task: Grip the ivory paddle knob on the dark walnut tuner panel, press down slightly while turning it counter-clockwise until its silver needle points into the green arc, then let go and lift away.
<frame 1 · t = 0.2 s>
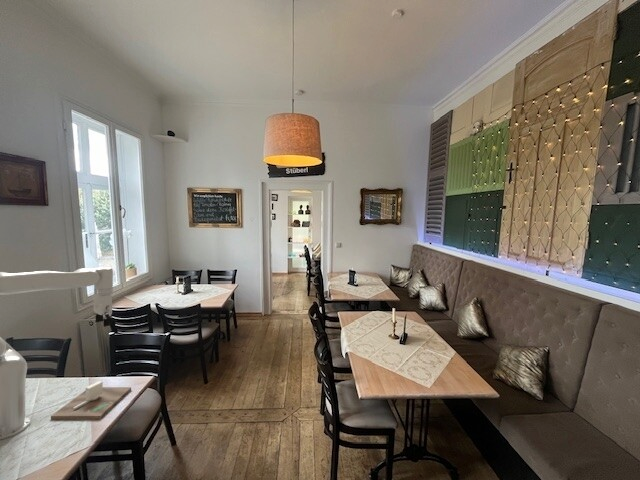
hand: (103, 323, 140), 36 cm above the table, tool pointing down, fingers open, 9 cm apart
peg knob: (87, 394, 130), point 5 cm above the table, hinge at 0.0°
tuner panel: (94, 402, 132), on the table
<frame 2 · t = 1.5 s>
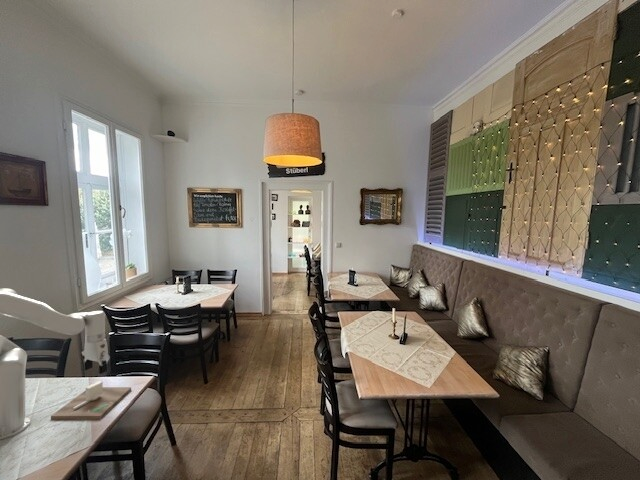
hand: (95, 370, 132), 16 cm above the table, tool pointing down, fingers open, 9 cm apart
nothing on the table moved.
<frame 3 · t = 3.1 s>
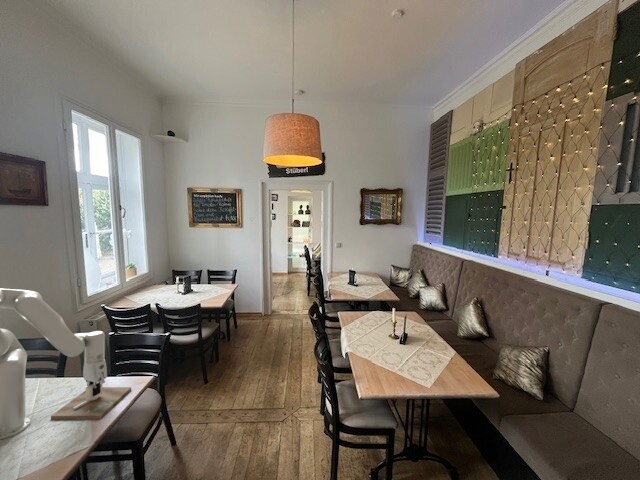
hand: (94, 393, 132), 4 cm above the table, tool pointing down, fingers closed on peg knob, 2 cm apart
peg knob: (87, 394, 130), point 5 cm above the table, hinge at 0.0°, touching gripper
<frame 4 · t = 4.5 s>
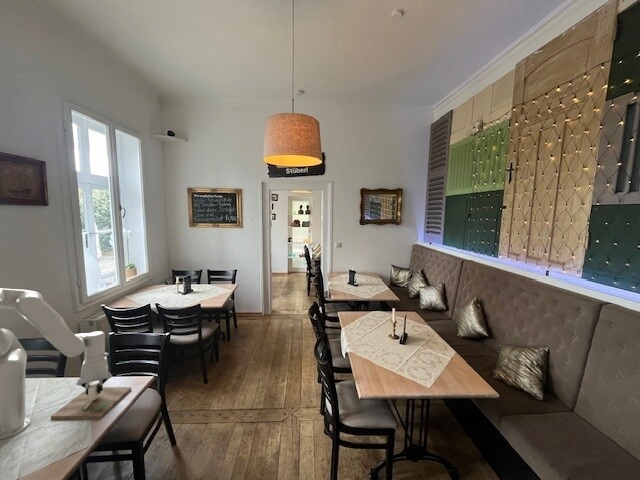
hand: (94, 393, 132), 4 cm above the table, tool pointing down, fingers closed on peg knob, 3 cm apart
peg knob: (91, 394, 130), point 5 cm above the table, hinge at 34.2°, touching gripper
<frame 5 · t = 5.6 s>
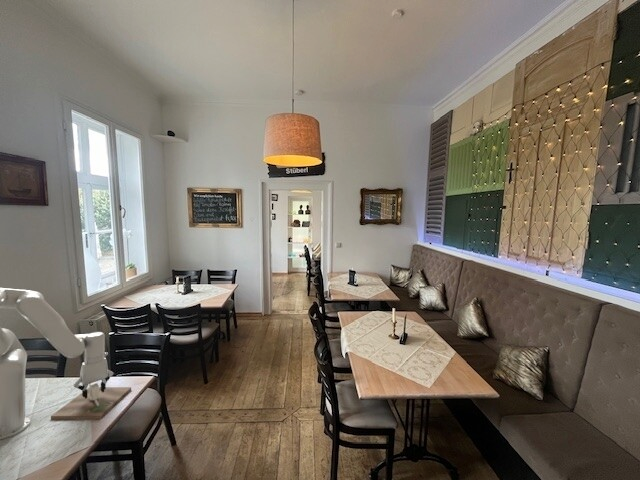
hand: (94, 393, 132), 4 cm above the table, tool pointing down, fingers open, 6 cm apart
peg knob: (95, 394, 130), point 5 cm above the table, hinge at 66.2°
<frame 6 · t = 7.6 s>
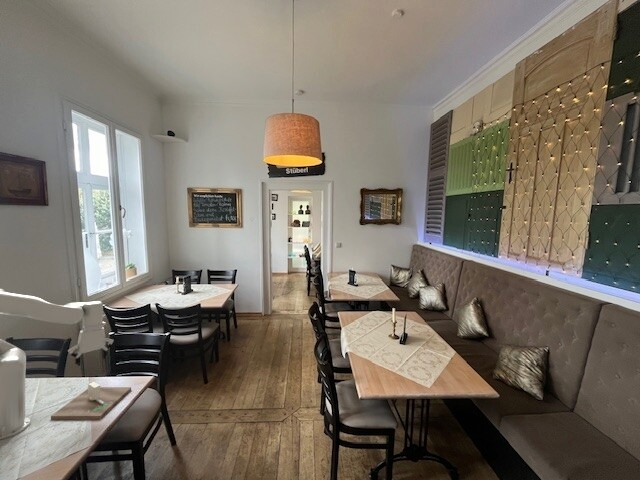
hand: (91, 361, 132), 20 cm above the table, tool pointing down, fingers open, 9 cm apart
peg knob: (96, 393, 131), point 5 cm above the table, hinge at 78.8°
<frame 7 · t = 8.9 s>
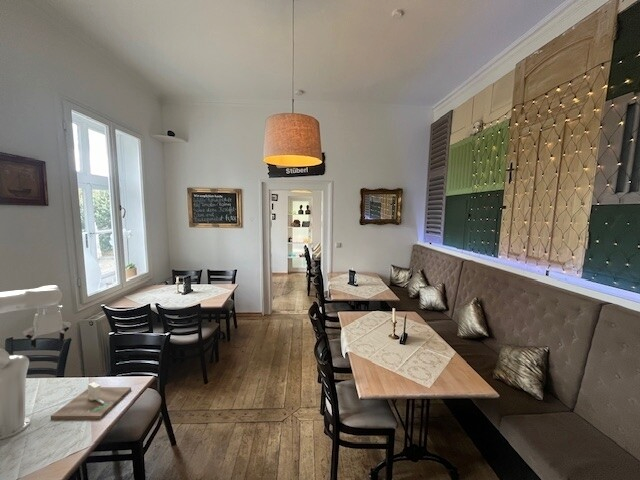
hand: (48, 343, 136), 26 cm above the table, tool pointing down, fingers open, 9 cm apart
peg knob: (97, 393, 131), point 5 cm above the table, hinge at 80.1°
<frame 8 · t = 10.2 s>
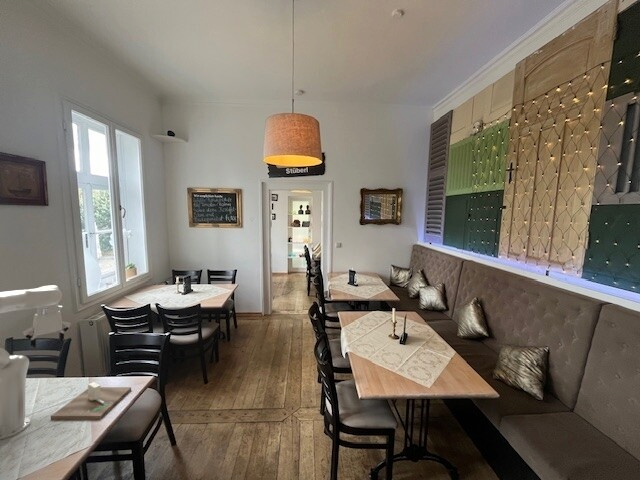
hand: (47, 343, 136), 26 cm above the table, tool pointing down, fingers open, 9 cm apart
nothing on the table moved.
at the end: peg knob at +80° (first picture: +0°); the gripper is holding nothing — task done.
